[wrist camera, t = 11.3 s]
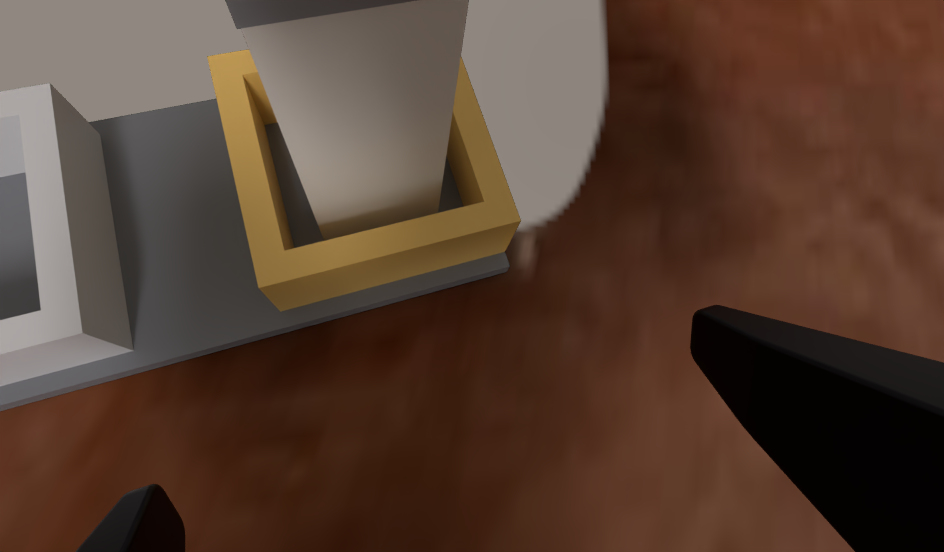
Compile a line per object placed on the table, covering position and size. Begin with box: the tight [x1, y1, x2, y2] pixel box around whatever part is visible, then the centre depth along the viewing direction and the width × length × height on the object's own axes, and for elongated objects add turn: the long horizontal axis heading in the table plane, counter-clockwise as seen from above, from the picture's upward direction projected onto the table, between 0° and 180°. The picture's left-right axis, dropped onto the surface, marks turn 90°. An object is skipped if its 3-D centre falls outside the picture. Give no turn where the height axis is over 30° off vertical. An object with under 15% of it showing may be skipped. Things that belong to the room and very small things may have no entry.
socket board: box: [0, 49, 521, 411], centre depth 15 cm, size 18×8×3 cm, turn 108°
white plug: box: [225, 0, 469, 241], centre depth 12 cm, size 4×4×11 cm
